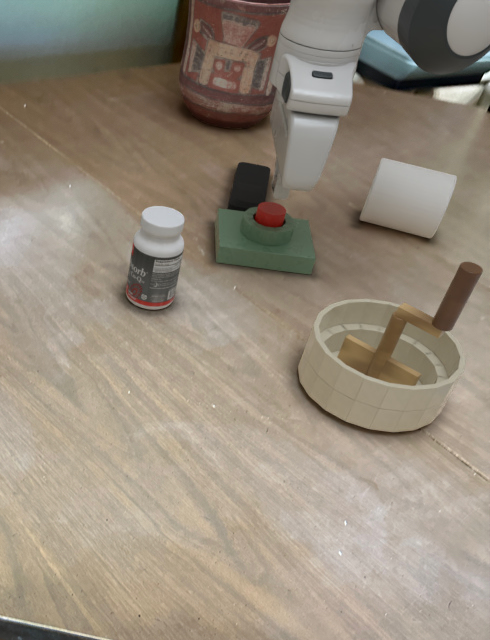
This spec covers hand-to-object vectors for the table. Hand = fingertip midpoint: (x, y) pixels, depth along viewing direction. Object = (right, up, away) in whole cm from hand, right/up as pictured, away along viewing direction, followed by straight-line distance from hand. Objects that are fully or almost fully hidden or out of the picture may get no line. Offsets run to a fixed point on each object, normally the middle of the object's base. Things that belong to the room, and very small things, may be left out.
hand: (278, 194), depth 94 cm
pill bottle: (-16, -14, -4) cm, 22 cm away
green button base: (-1, -4, +6) cm, 7 cm away
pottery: (-1, +28, +34) cm, 44 cm away
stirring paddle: (+7, -25, -13) cm, 29 cm away
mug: (+20, +3, +15) cm, 25 cm away
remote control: (0, +7, +16) cm, 17 cm away
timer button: (-1, -2, +3) cm, 4 cm away
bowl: (+7, -26, -12) cm, 29 cm away
